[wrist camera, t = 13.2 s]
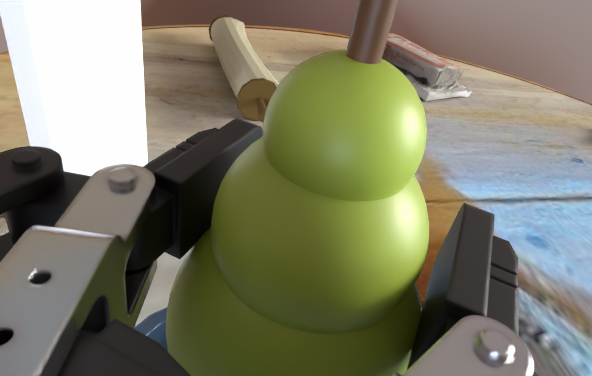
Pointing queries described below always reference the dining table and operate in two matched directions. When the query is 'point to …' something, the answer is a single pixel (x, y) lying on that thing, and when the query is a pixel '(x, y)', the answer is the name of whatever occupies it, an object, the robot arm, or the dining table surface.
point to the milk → (80, 78)
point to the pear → (315, 228)
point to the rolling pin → (242, 67)
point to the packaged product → (424, 69)
